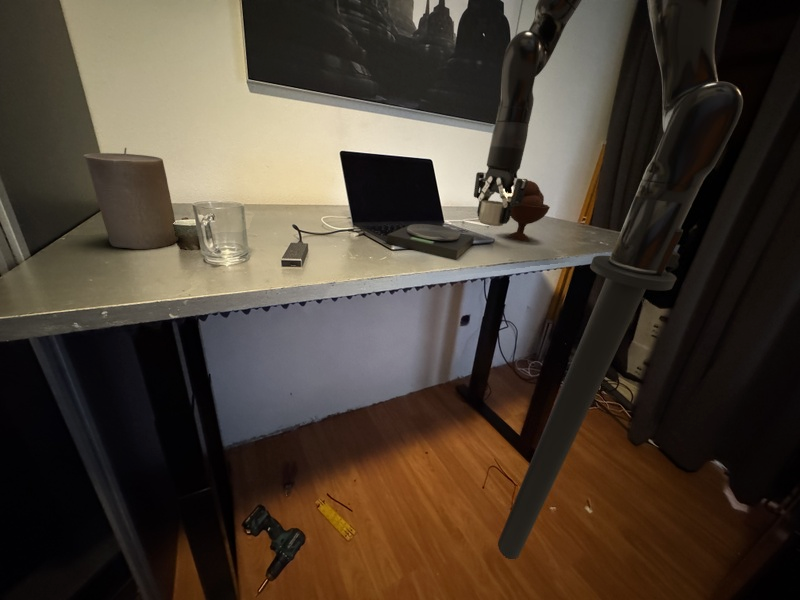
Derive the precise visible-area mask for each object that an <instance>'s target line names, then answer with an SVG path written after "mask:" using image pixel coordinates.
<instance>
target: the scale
mask: <svg viewBox="0 0 800 600" xmlns="http://www.w3.org/2000/svg"><path fill="white" fill-rule="evenodd" d="M415 224H416V223H412V224H410V225H415ZM410 225H409V224H408V225H407V226H405V227H402V228H399V229H397V230H395V231H392V232H389V233H388V234H386V244H388V245H393V246H396V247H401V248H405V249H410V250H414V251H418V252H421V253H426V254H430V255H434V256H439V257H443V258H448V259H453V260H457V259H458V258H459V257H460V256H461V255H463V254H464V253H465V252H466V251H467V250H468V249H469V248H471V246H472V245H473V244H474V240H475V235H471V234H466V233H461V232H459V233H460V237H459V238H458V239H456V240H450V241H441V240H431V239H425V238H421V237H417V236H415V235H412V234H410V233H409V232H408V231H407V228H408V226H410Z"/></svg>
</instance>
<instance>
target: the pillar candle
mask: <svg viewBox="0 0 800 600" xmlns="http://www.w3.org/2000/svg"><path fill="white" fill-rule="evenodd" d="M83 157H84V158H85V163H86V164H87V168H88V172H89V175H90V178H91V182H92V185H93V189H94V192H95V193H94V194H95V196H96V200H97V203H98V206H99V209H100V214H101V217H102V221H103V224H104V227H105V231H106V235H107V238H108V241H109V244H110V245H111V246H112V247H115V248H124V249H133V250H150V249H160V248H163V247H167V246H171V245H173V244H175V243H176V242H178V241H179V236H178V235H179V234H178V235H177V237H176V236H175V231H174V227H173V223H174V222H175V223H176V218H175V213H174V207H173V203H172V199H171V193H170V189H169V182H168V178H167V173H166V169H165V165H164V159H163V158H161V157H159V156H153V155H144V154H133V153H127V147H124V151H123V153H117V152H116V153H115V152H113V153H112V152H96V153H95V152H93V153H86V154H85V153H84V154H83Z"/></svg>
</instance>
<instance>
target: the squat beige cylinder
mask: <svg viewBox="0 0 800 600" xmlns="http://www.w3.org/2000/svg"><path fill="white" fill-rule="evenodd" d="M502 207H504V206H503V202H502V201H498V200H491V199H489V200H483V201H482V202H481V208H480V213H479V217H477V218H478V219H477V220H478V221H479V223H481V224H482V225H483V224H484V225H486V226H491V227H501V226H504V224H501V223H499V220H500V216H501V211H502Z"/></svg>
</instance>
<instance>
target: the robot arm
mask: <svg viewBox="0 0 800 600" xmlns="http://www.w3.org/2000/svg"><path fill="white" fill-rule="evenodd" d="M581 2H582V0H537V3H536V5H535V10H534V19H533V20H532V22H531V25H530V27H529V30H522V31H520V32H518V33H516V35H514V36H513V37H512V38H511V40H510V41H509V43H508V45H507V47H506V49H505V52H504V55H503V60H502V67H501V84H500V100H499V104H498V109H497V114H496V120H495V124H494V127H493V131H492V134H491V140H490V145H489V149H488V156H487V160H486V167H487V171H486V172H484V171H483V172H482V171H478V172H477V173H476V175H475V182H474V189H473V198H476V199H477V200H478V206H477V211H476V213H477V214H476V215H477V218H479V213H480V208H481V202H482V201H483V200H490V198H491V197H492V195H494V194H495V193H496V194H499V198H500V199H501V202H503V206H504V207H502V211H501V216H500V220H499V223H501V224H503V225H506V224H508V222H510V219H511V216H510V215H511V211H512V208H513V207H516V206H520V205H521V203H522V200H523V196H524V193H525V190H526V187H527V183H528V181H529V180H528V179H527V178H520V177H518V171H519V170H520V169H521V166H522V160H523V158H524V151H525V147H526V144H527V139H528V135H529V134H528V132H529V124H530V121H531V118H532V113H533V107H534V102H535V101H534V100H535V98H534V92H533V91H534V85H535V80H536V77H537V76H539V74H540V73H541V72H542V71H543V70H544V69H545V67H546V66H547V64H548V62H549V61H550V59H551V57H552V55H553V53H554V51H555V49H556V47H557V45H558V43H559V41H560V39H561V37H562V34H563V32H564V30H565V28H566V26H567V24H568V23H569V20H570V19H571V18H572V17H573V16H574V14H575V12H576V10H577V8H578V7H579V5H580V4H581ZM646 2H647V9H648V17H649V21H650V27H651V31H652V36H653V37H652V38H653V43H654V47H655V52H656V56H657V61H658V64H659V68H660V74H661V87H662V93H661V94H662V130H663V134H662V137H661V139H660V142H659V145H658V146H657V149H656V151H655V154H654V155H653V157H652V159H651V160H650V162H649V164H648V165H647V166H646V169H645V171H644V173H643V175H642V179H641V181H640V183H639V186H638V189H637V191H636V193H635V196H634V198H633V201H632V203H631V205H630V208H629V210H628V213H627V215H626V217H625V220H624V223H623V226H622V227H621V231H620V232H619V235H618V237H617V241H616V243H615V244H614V247H613V249H612V251H611V255H609V256H610V258H609V261H608V262H609V263H610V264H611V265H613V266H615V267H617V268H620V269H623V270H626V271H629V272H633V273H638V274H644V275H656V276H662V274H663V272H664V270H666V272H667V273H669V272H670V273H672V272H673V271H675V270H676V269H678V268H679V260H680V258H681V255H680V253H678V252H677V251H676V250H675V249H676V248H677V245H678V243H679V242H680V240H681V237H682V235H683V233H684V230H683V229H682V226H683V224H684V222H685V220H686V218H687V216H688V214H689V212H690V209H691V208H692V206H693V203H694V202H695V199H696V197H697V195H698V192H699V191H700V189H701V187H702V186H703V185H702V184H703V182H704V181H705V179H706V178H707V176H708V175H709V174H710V173H711V172H712V170H713V169H714V167H715V166H716V164H717V162H718V160H719V158H720V156H721V155H722V153H723V151H724V149H725V147H726V145H727V144H728V141H730V138H731V136H732V134H733V132H734V130H735V128H736V126H737V124H738V122H739V119H740V117H741V114H742V110H743V106H744V98H743V94H742V92H741V90H740V89H739V87H737V86H736V85H734V83H731V82H728V81H719V78H718V72H717V66H716V57H715V45H716V38H717V31H718V26H719V25H718V24H719V20H720V14H721V8H722V0H646ZM513 187H514V188H513ZM666 268H668V269H666Z"/></svg>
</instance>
